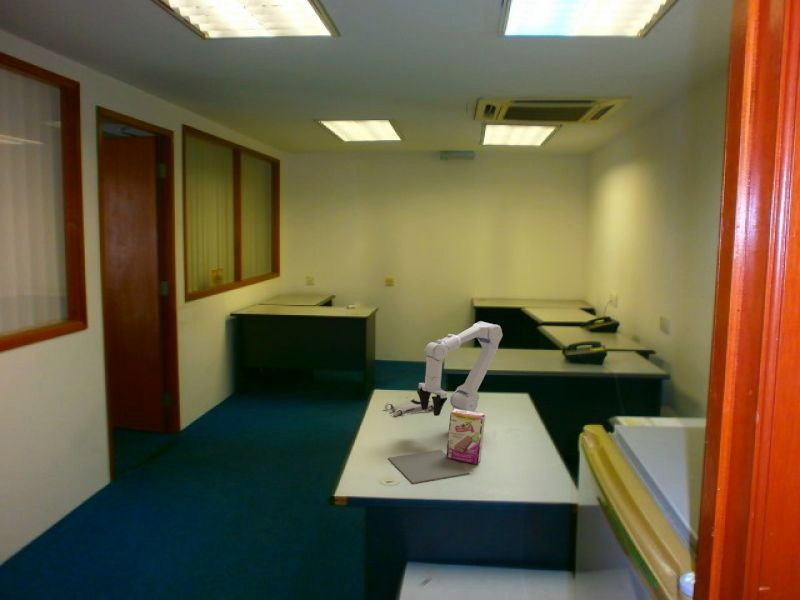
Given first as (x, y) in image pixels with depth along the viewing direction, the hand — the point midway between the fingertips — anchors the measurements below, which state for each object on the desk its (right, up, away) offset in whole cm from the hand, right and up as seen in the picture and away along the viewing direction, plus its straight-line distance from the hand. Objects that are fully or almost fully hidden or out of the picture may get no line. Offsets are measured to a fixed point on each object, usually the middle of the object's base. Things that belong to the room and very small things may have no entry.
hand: (430, 412), depth 206 cm
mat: (-2, -14, -20) cm, 25 cm away
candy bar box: (+10, -13, -15) cm, 23 cm away
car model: (-5, -7, +37) cm, 38 cm away
